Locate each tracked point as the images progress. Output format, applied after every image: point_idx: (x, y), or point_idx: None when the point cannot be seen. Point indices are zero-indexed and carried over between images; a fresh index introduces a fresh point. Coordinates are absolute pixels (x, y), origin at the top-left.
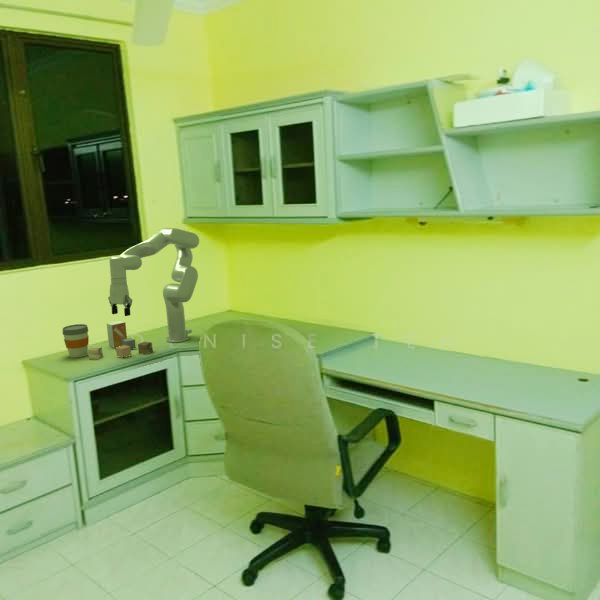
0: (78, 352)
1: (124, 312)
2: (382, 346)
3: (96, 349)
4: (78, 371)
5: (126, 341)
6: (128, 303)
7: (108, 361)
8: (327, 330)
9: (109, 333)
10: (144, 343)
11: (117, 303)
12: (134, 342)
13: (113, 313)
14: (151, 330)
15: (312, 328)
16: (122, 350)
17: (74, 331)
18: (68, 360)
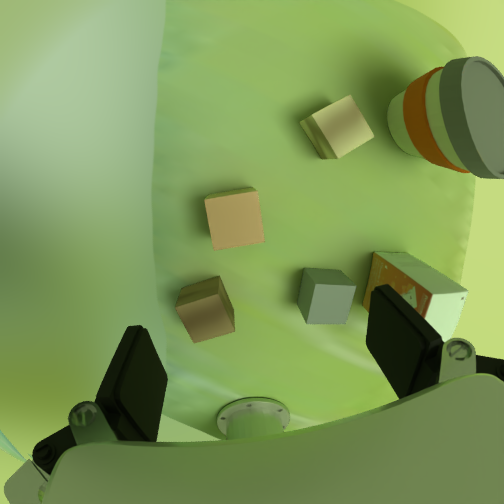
0: (397, 100)
1: (126, 351)
2: (5, 445)
3: (319, 116)
4: (207, 7)
5: (314, 286)
6: (38, 462)
7: (223, 128)
8: None
9: (428, 272)
10: (202, 316)
11: (211, 451)
12: (303, 314)
13: (374, 297)
14: None
15: None
16: (205, 198)
17: (455, 69)
18: (379, 62)
